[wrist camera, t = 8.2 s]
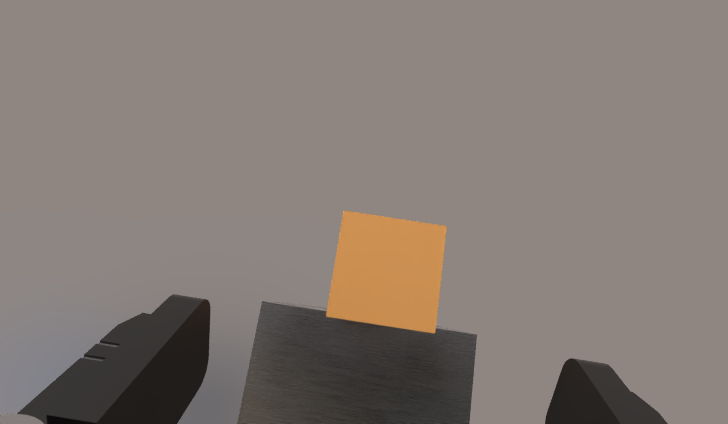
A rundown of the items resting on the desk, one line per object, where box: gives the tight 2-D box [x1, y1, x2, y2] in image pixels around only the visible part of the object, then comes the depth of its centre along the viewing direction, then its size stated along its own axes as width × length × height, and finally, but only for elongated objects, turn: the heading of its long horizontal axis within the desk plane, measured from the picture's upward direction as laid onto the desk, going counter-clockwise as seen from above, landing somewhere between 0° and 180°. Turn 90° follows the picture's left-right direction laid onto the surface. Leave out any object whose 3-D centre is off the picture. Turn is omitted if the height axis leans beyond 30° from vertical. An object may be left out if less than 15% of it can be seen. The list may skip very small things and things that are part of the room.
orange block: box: [326, 211, 447, 333], centre depth 21 cm, size 20×3×3 cm, turn 1°
